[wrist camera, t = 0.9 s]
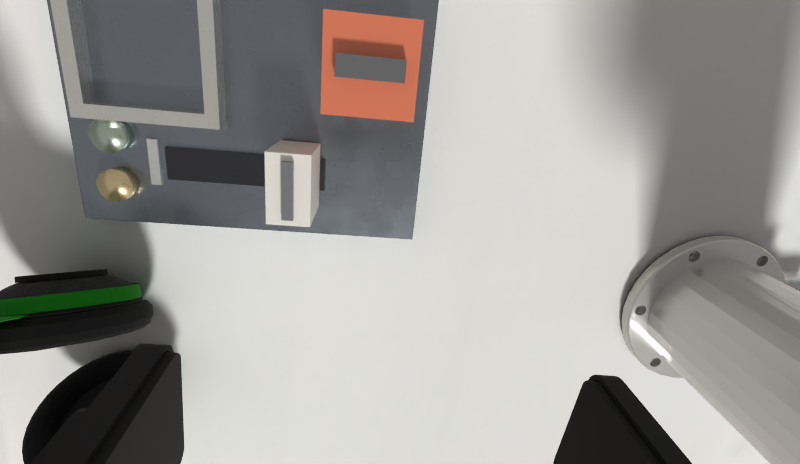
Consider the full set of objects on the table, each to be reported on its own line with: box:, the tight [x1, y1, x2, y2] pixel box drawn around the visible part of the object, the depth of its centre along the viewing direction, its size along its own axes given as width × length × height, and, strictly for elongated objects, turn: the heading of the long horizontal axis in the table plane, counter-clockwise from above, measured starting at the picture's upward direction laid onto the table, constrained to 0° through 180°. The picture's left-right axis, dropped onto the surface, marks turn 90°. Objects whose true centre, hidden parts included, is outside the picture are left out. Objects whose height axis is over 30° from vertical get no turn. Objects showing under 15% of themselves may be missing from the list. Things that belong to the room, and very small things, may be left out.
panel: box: [47, 0, 439, 239], centre depth 25 cm, size 21×15×3 cm
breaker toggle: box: [264, 140, 321, 227], centre depth 24 cm, size 2×4×4 cm, turn 175°
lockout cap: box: [320, 9, 424, 122], centre depth 22 cm, size 4×4×6 cm
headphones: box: [0, 269, 153, 464], centre depth 23 cm, size 9×16×20 cm, turn 4°
